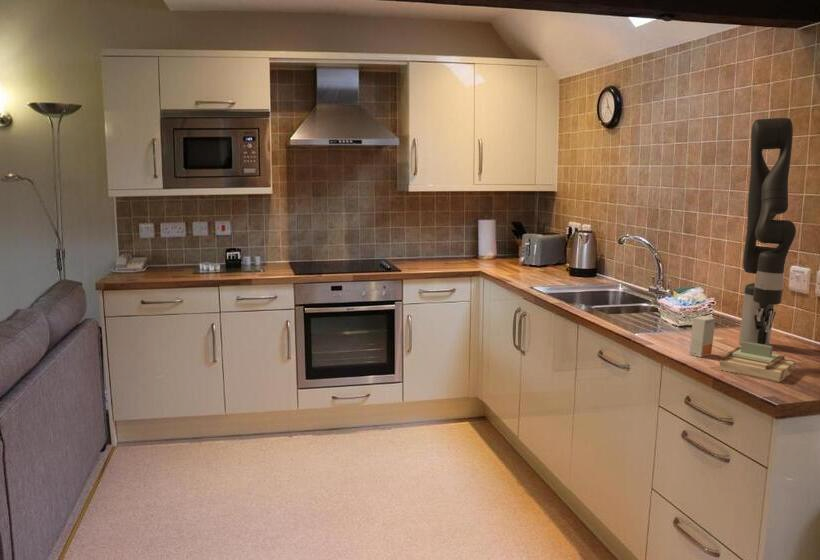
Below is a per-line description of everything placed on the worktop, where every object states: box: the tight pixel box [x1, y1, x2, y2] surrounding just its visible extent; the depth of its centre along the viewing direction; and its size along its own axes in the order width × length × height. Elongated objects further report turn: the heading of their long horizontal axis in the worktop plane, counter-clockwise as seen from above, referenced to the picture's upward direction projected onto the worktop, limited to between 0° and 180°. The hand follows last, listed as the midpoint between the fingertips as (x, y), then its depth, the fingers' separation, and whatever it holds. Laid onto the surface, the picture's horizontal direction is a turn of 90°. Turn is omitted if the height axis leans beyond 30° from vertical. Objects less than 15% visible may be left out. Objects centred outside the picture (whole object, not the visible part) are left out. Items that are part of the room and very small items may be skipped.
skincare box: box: [688, 315, 716, 358], centre depth 217 cm, size 6×4×12 cm
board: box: [718, 346, 796, 384], centre depth 202 cm, size 16×16×4 cm
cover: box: [732, 341, 781, 363], centre depth 205 cm, size 9×11×4 cm
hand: (761, 343), depth 209 cm, fingers closed
